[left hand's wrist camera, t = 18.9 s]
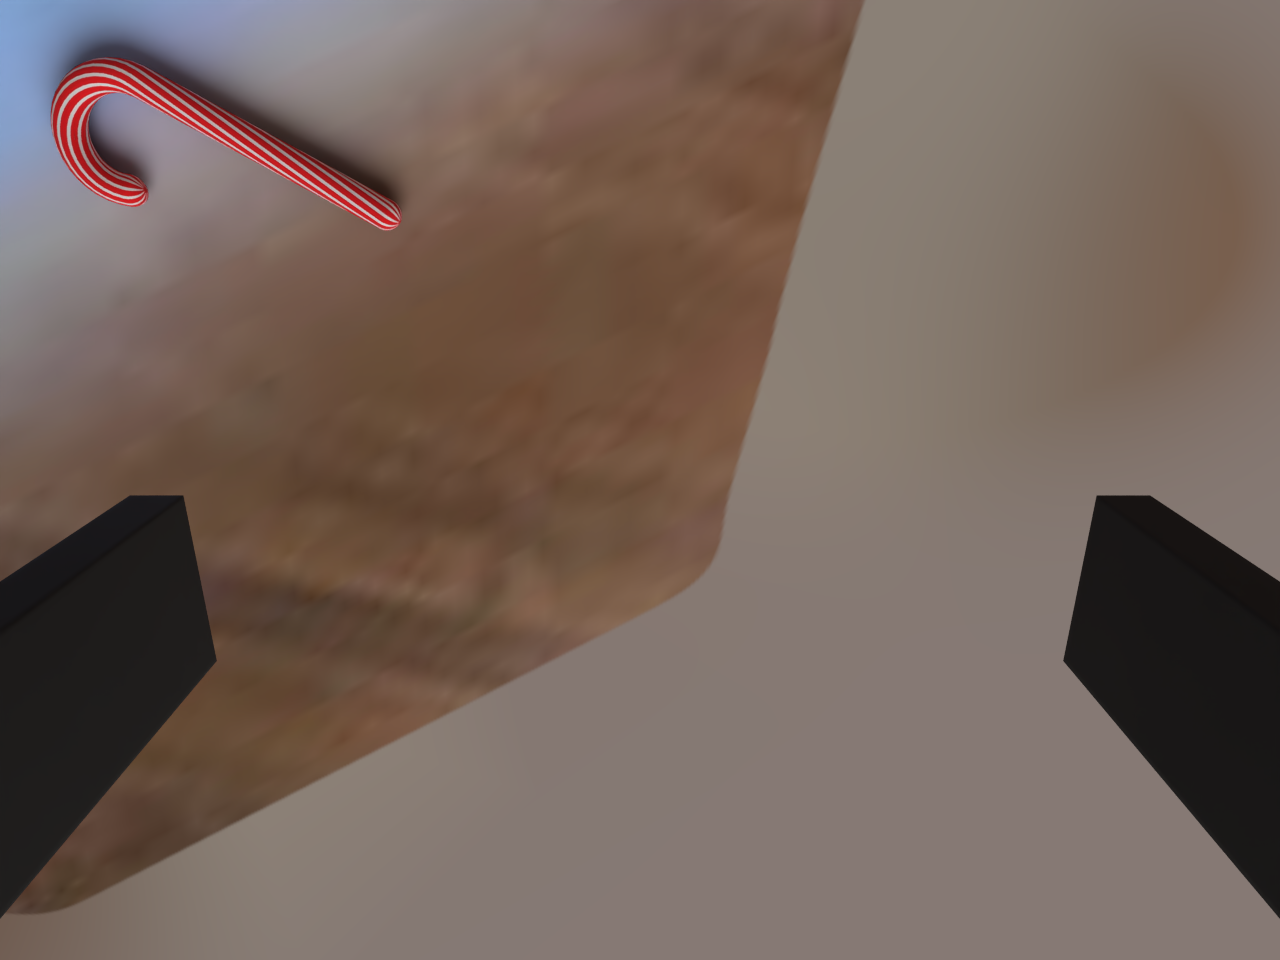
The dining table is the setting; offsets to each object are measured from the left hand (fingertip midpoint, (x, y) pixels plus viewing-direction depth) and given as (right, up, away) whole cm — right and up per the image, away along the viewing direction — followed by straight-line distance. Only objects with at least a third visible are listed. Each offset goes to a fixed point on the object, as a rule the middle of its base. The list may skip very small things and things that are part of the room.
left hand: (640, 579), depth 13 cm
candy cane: (-18, +15, +26) cm, 35 cm away
